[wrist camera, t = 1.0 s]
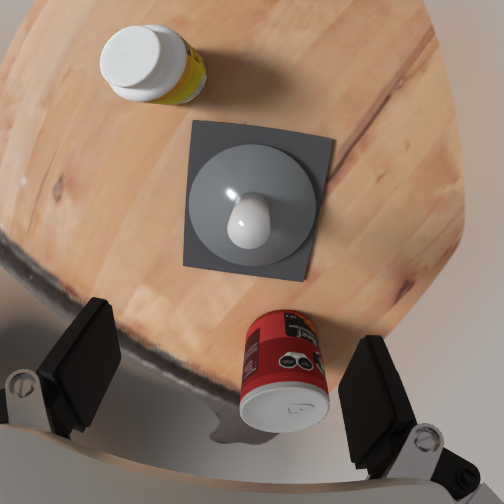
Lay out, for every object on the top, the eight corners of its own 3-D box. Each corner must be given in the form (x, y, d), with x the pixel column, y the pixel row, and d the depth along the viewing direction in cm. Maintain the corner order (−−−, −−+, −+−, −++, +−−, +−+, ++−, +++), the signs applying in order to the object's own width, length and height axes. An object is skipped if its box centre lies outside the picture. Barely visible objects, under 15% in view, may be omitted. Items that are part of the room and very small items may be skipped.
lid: (196, 137, 24) (177, 142, 19) (324, 154, 24) (341, 165, 19) (188, 252, 29) (171, 285, 23) (301, 268, 29) (308, 303, 23)
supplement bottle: (221, 69, 22) (195, 40, 13) (181, 117, 24) (133, 118, 14) (174, 37, 20) (127, 0, 11) (136, 84, 22) (73, 74, 13)
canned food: (325, 343, 33) (340, 419, 24) (264, 365, 35) (263, 440, 25) (300, 296, 31) (313, 375, 21) (234, 323, 33) (222, 401, 23)
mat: (194, 120, 24) (192, 120, 23) (331, 138, 24) (332, 139, 23) (184, 263, 30) (183, 266, 29) (302, 279, 30) (303, 282, 29)
